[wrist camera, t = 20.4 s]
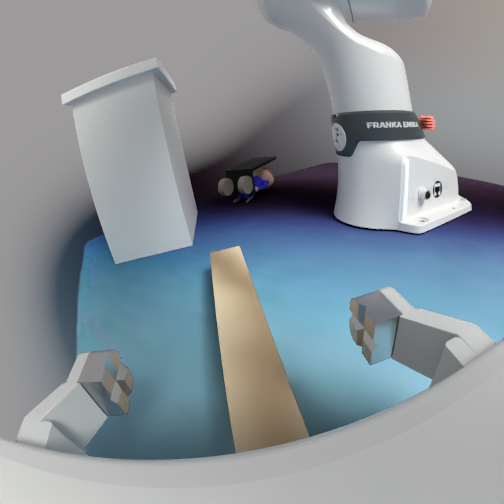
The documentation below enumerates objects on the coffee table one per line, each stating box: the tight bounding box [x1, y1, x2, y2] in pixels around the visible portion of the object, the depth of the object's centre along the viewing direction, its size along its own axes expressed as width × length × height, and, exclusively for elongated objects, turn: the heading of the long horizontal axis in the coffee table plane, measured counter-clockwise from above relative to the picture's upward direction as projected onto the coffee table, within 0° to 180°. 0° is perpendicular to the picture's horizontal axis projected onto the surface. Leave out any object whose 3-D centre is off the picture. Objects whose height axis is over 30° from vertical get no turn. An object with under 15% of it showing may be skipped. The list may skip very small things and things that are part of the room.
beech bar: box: [210, 246, 310, 453], centre depth 17 cm, size 3×26×3 cm, turn 10°
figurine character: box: [218, 157, 276, 203], centre depth 57 cm, size 7×8×15 cm
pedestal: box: [61, 57, 198, 264], centre depth 41 cm, size 14×20×26 cm
